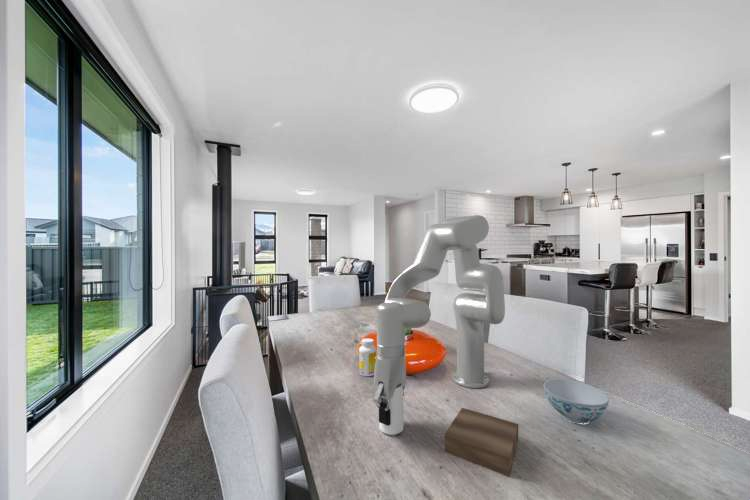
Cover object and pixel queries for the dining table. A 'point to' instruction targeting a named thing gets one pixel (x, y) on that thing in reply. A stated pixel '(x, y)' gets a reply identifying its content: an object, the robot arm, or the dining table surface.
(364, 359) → the supplement bottle
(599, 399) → the chinaware
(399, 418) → the can
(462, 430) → the base
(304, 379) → the dining table surface
